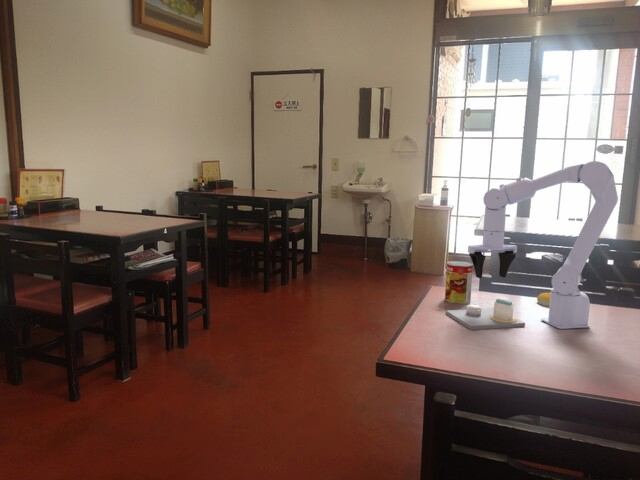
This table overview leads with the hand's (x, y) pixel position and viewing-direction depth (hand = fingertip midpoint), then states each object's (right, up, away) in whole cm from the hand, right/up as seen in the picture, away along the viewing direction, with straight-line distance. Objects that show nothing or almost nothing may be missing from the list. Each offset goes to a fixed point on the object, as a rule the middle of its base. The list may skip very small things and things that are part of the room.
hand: (490, 277), depth 144 cm
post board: (-4, -11, -6) cm, 14 cm away
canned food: (-6, -9, +13) cm, 17 cm away
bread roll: (+23, -10, +12) cm, 28 cm away
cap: (0, -11, -9) cm, 14 cm away
